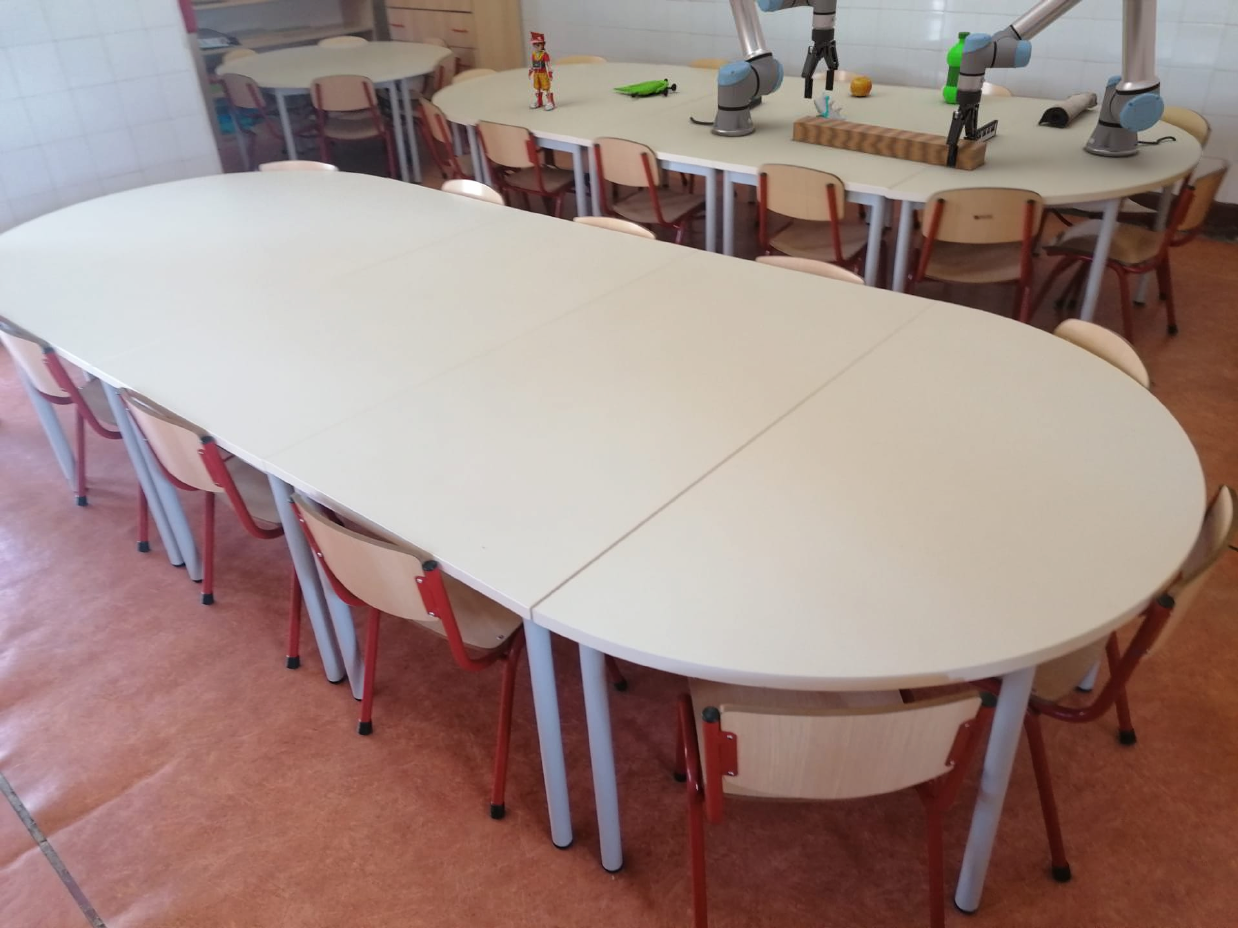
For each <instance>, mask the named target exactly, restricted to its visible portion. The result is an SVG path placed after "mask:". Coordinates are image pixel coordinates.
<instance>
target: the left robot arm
mask: <svg viewBox="0 0 1238 928" xmlns="http://www.w3.org/2000/svg"><path fill="white" fill-rule="evenodd" d="M728 1H729V6H730V9H731V13H732V16H733V21H734V25H735V28H736V32H737V36H738V39H739V44H740V47H741V51H742V55H743V59H742V61H741V60H740V61H739V60H738V61H732V62H728V63H726V64H723V65H722V66H720V68H718V73H717V74H718V75H717V111H716V114H715V118H714V120H713V121H700V120H696V119H694V118H693V116H689V119H690V120H691V122H692V123H694V124H697V125H704V126H712V133H713V134H715V135H717V136H721V137H741V136H746V135H750V134H752V133H754V127H755V126H754V122H753V118H752V115H751V111H750V109H749V99H750V98H755V97H759V96H762V97H764V96H768V95H770V94H771V95H772V94H774V93H775V92H777V91H778V90H779V89H780V88H781V86H782V84H783V81H784V73H785V72H784V67H783V64H782V63H781V61H779V59H776V58H774V56H773V51H771V50H769V49H768V48H767V45H766V41H765V38H764V33H763V30H762V26H761V22H760V18H759V15H758V10H757V6H758V8H759V9H760V11H761V12H764V13H775V12H777V11H783V10H787V9H794V8H800V7H811V8H812V9H813V11H812V23H811V27H812V29H811V41H812V42H814V43H813V46H811V45H809V46H808V47H807V54H806V58H805V61H804V65H803V66H802V67H803V68H802V72H801V75H800V77H801V78H802V79H804V93H803V99H808V100H811V99H813V90H814V89H813V88H814V77H813V76H814V73H815V71H816V69H817V67H818V64H819V62H820V61H821V60H822V59H823V60H824V62H825V64H826V67H827V69H826V73H825V74H826V76H825V88H824V91H830V92H832V91H834V85H835V83H834V82H835V71H838V70H839V67H840V63H839V57H838V52H837V40H835V28H834V27H835V26H836V19H837V18H836V13H837V3H838V2H837V1H838V0H728ZM756 4H757V6H756Z"/></svg>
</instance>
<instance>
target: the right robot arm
mask: <svg viewBox="0 0 1238 928" xmlns="http://www.w3.org/2000/svg"><path fill="white" fill-rule="evenodd" d="M1082 1H1083V0H1040V1H1039V2H1037V3H1036V4H1035V5H1034V6H1033V7H1031V8H1030V9H1028V11H1026V12H1025V13H1024V14H1022V15H1021V16H1020V17H1018V18H1017V19H1016V20H1014V21H1013V22H1012V23H1010V24H1009V25H1008V26H1007V27H1005V28H1004V29H1003V30H998V31H995V32H994V33H993V34H992V35H991V34H988V33H980V32H975V33H970V35H968V36H967V37H966V38H965V42H964V47H963V50H962V59H961V66H960V73H959V78H958V84H957V87H958V88H959V89H957V91H956V98H955V101H956V102H957V103H956V104H958V109H957V110H953V112H952V117H951V118H952V119H951V123H950V126H949V129H948V133H947V134H948V135H947V137H948V138H947V142H946V145H949V150H948V157H947V163H946V165H947V166H946V167H949V166H953V167H952V168H955V164H956V158H957V152H958V146H959V145H957V144H958V141H959V139H961V135H962V133H963V130H964V136H963V138H962V139H966V140H972V139H973V137H976V133H977V129H978V121H979V109H980V102H981V100H982V94H983V89H982V88H983V87H984V83H985V82H986V79H985V75H986V71H987V69H1019V68H1025V67H1027V66H1028V65H1029V63H1030V60H1031V56H1032V49H1033V48H1032V47H1033V45H1032V42H1031V40H1032V39H1034V38H1035V37H1036V36H1038V35H1039V34H1040V33H1041V32H1043V31H1044V30H1045V29H1047V28H1048V27H1049V26H1051V25H1052V24H1053V23H1055V22H1056V21H1057V20H1059V19H1060V18H1061V17H1062V16H1064V15H1065V14H1067V12H1069V11H1070V10H1072V9H1073V8H1074V7H1075V6H1077V5H1078V4H1080V3H1081V2H1082ZM1157 5H1158V0H1122V9H1121V10H1122V11H1121V16H1122V17H1121V21H1122V22H1121V26H1122V28H1121V74H1120V75H1119V74H1118V75H1113V76H1110V77H1109V78H1108V80H1107V84H1106V85H1105V90H1104V94H1103V99H1102V103H1101V108H1100V111H1099V116H1098V120H1097V124H1096V126H1095V128H1094V130H1092V132H1091V135H1090V136H1089V138H1088V140H1087V142H1086V144H1085V147H1084V149H1085V151H1086V152H1088V153H1090V154H1093V155H1096V156H1101V157H1113V158H1121V157H1129V156H1133V155H1135V154H1137V153H1138V149H1139V145H1140V144H1141V145H1159V144H1160V142H1161V141H1164V140H1169V139H1170V140H1172V141H1173V142H1176V141H1177V139H1176V137H1175V136H1172V135H1167V136H1163V137H1160V138H1158V139H1156V141H1145V140H1144V141H1143V140H1139V137H1138V133H1139V132H1144V131H1147V130H1149V129H1150V128H1152V127H1154V126H1155V125H1156V124H1157V123H1158V122H1159V121H1160V120H1161V118H1162V117H1163V115H1164V111H1165V102H1164V100H1163V97H1161V78H1160V77H1159V76H1157V75H1156V72H1155V71H1156V39H1157V38H1156V36H1157V9H1158V7H1157Z"/></svg>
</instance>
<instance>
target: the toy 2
mask: <svg viewBox="0 0 1238 928" xmlns="http://www.w3.org/2000/svg"><path fill="white" fill-rule="evenodd" d="M669 85H670V83H669V79H668V78H664V79H663V80H649V81H644V82H640V83H634V84H629V85H627V86H621V87H613V88H612V89H613V90H616V91H619V92H623V93H627V94H628V93H629V94H631V95H630V96H631V98H632V99H634V98H636V96H637V95H650V94H652V93H654V94H658V93H662V95H663V96H665V97H667V96H668V95H669V90H671V91H672V92H676V91H677V84H676V83H672V84H671V86H669Z"/></svg>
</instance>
